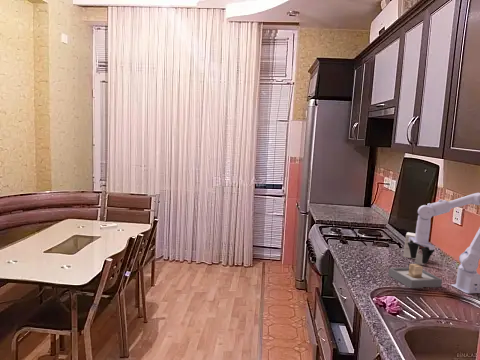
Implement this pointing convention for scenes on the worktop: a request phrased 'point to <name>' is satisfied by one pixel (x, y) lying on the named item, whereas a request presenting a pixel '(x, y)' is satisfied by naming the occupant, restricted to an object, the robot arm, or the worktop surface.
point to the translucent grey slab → (419, 259)
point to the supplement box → (406, 247)
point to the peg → (415, 271)
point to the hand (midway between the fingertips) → (418, 260)
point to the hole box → (404, 278)
